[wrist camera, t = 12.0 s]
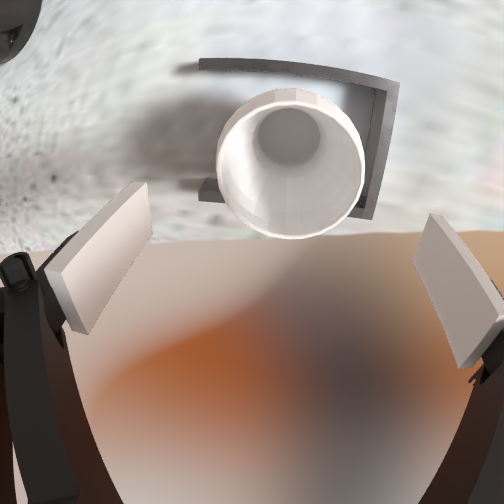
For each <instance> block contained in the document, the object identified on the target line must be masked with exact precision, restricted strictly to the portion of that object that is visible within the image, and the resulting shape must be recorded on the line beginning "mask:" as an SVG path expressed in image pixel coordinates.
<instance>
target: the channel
mask: <svg viewBox="0 0 504 504" xmlns="http://www.w3.org/2000/svg"><path fill="white" fill-rule="evenodd" d="M199 70H239V71H261V72H274V73H285V74H295V75H303V76H311V77H318V78H325V79H331V80H337V81H342V82H348V83H353V84H358V85H362V86H367V87H371V88H376V89H375V97H374V104H373V111H372V117H371V124H370V130H369V136H368V142H367V147H366V153H365V158H364V159H365V174H364V185H363V188H362V191H361V194H360V197H359V200H358V201H357V203H356V204H355V206H354V207H353V209H352V210H351V212H350V213H349V214H348V215H347V216H346V217H354V218H361V219H368V220H372V218H373V214H374V210H375V207H376V203H377V199H378V195H379V191H380V187H381V182H382V178H383V174H384V169H385V165H386V160H387V155H388V150H389V145H390V140H391V135H392V130H393V124H394V118H395V112H396V106H397V99H398V92H399V85H400V83H399V82H396V81H392V80H388V79H385V78H381V77H377V76H372V75H368V74H364V73H359V72H354V71H349V70H344V69H339V68H333V67H327V66H321V65H314V64H306V63H298V62H289V61H278V60H265V59H245V58H200V59H199ZM198 194H199V201H205V202H217V203H225V200H224V198H223V196H222V194H221V192H220V189H219V186H218V180H217V179H212V178H207V179H206V181H205V182H204V184H203V185H202V187H201V188H200V189H199V191H198Z"/></svg>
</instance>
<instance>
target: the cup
mask: <svg viewBox="0 0 504 504" xmlns="http://www.w3.org/2000/svg"><path fill="white" fill-rule="evenodd" d="M216 173H217V180H218V186H219V189H220V192H221V194H222V196H223V198H224V200H225V203H226V204H227V206H228V207H229V208H230V209H231V211H232V212H233V213H234V214H235V216H236V217H237V218H238V219H240V220H241V221H242V222H244V223H245V224H246V225H248V226H249V227H250V228H252V229H254V230H256V231H258V232H261V233H263V234H265V235H267V236H272V237H277V238H282V239H303V238H307V237H311V236H315V235H319V234H321V233H323V232H325V231H327V230H329V229H331V228H333V227H335V226H336V225H337V224H338V223H340V222H341V221H342V220H343V219H344V218H345V217H346V216H347V215H348V214H349V213H350V212H351V210H352V209H353V207H354V206H355V204H356V203H357V201H358V200H359V197H360V194H361V191H362V188H363V185H364V174H365V159H364V151H363V147H362V143H361V139H360V136H359V133H358V132H357V130H356V128H355V127H354V125H353V123H352V121H351V120H350V118H349V117H348V116H347V115H346V114H345V113H344V112H343V111H342V110H341V109H340V108H338V107H337V106H336V105H335V104H334V103H332V102H330V101H329V100H327V99H325V98H323V97H321V96H319V95H317V94H315V93H313V92H309V91H304V90H300V89H295V88H292V89H275V90H272V91H269V92H266V93H263V94H260V95H257V96H256V97H254V98H253V99H251V100H250V101H248V102H247V103H245V104H244V105H242V106H241V107H239V108H238V109H237V110H236V111H235V113H234V114H233V115H232V116H231V117H230V119H229V120H228V121H227V122H226V124H225V126H224V128H223V130H222V133H221V135H220V138H219V140H218V145H217V153H216Z"/></svg>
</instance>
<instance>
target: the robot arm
mask: <svg viewBox="0 0 504 504" xmlns="http://www.w3.org/2000/svg"><path fill="white" fill-rule="evenodd" d="M41 3H42V0H0V63H3V62H7V61H9V60H11V59H12V58H13V57H15V56H16V55H17V54H18V53H19V52H20V51H21V49H22V48H23V47H24V45H25V44H26V42H27V41H28V39H29V37H30V36H31V34H32V32H33V29H34V27H35V25H36V22H37V19H38V16H39V13H40V9H41ZM152 234H153V232H152V225H151V217H150V209H149V200H148V191H147V182H131V183H130V184H129V185H128V186H126V187H125V188H124V189H123V190H122V191H121V192H120V193H119V194H117V195H116V196H115V197H114V198H113V199H112V200H111V201H110V202H109V203H108V204H106V205H105V206H104V207H103V208H102V209H101V210H100V211H99V212H98V213H97V214H96V215H95V216H94V217H93V218H92V219H91V220H90V221H89V222H88V223H87V224H86V225H85V226H84V227H83V228H82V229H81V230H80V231H77V232H75V233H74V234H72V235H70V236H69V237H67V238H66V239H65V240H64V241H63V243H62V244H61V245H60V247H58V248H57V249H56V250H55V251H54V253H52V254H51V255H50V256H49V257H48V259H47V260H46V261H45V262H44V263H43V264H42V265H41V266H40V267H39V269H38V270H37V271H35V269H34V267H33V264H32V262H31V259H30V257H29V254H27V253H26V252H18V253H14V254H12V255H10V256H8V257H7V258H5V259H4V260H3V261H2V262H1V263H0V278H1V280H2V282H3V284H4V286H5V287H1V288H0V504H17V501H16V493H15V483H14V470H13V445H12V444H14V449H15V453H16V458H17V462H18V466H19V470H20V473H21V477H22V481H23V484H24V487H25V490H26V494H27V498H28V504H124V503H123V502H122V500H121V498H120V496H119V494H118V492H117V490H116V488H115V486H114V484H113V482H112V480H111V478H110V475H109V473H108V471H107V469H106V467H105V464H104V462H103V460H102V457H101V455H100V452H99V450H98V448H97V445H96V442H95V440H94V437H93V435H92V432H91V429H90V426H89V423H88V420H87V418H86V415H85V411H84V408H83V405H82V402H81V398H80V395H79V392H78V388H77V384H76V381H75V377H74V373H73V369H72V365H71V361H70V357H69V351H68V347H67V342H66V337H65V332H64V330H63V328H62V325H63V323H64V321H65V320H67V322H68V324H69V326H70V328H71V329H72V331H76V332H79V333H82V334H86V335H89V334H90V332H91V330H92V328H93V326H94V325H95V323H96V321H97V320H98V318H99V316H100V314H101V313H102V311H103V309H104V308H105V306H106V304H107V303H108V301H109V300H110V298H111V296H112V295H113V293H114V291H115V290H116V288H117V287H118V285H119V283H120V282H121V280H122V279H123V277H124V275H125V274H126V273H127V271H128V269H129V268H130V266H131V265H132V263H133V262H134V260H135V258H136V257H137V256H138V254H139V253H140V251H141V250H142V249H143V247H144V246H145V244H146V243H147V241H148V240H149V238H150V237H151V235H152ZM412 262H413V264H414V266H415V268H416V270H417V272H418V274H419V276H420V278H421V280H422V282H423V284H424V286H425V288H426V290H427V292H428V294H429V297H430V299H431V301H432V303H433V305H434V308H435V310H436V312H437V315H438V317H439V319H440V321H441V324H442V326H443V329H444V331H445V334H446V336H447V339H448V341H449V344H450V347H451V349H452V352H453V355H454V357H455V360H456V363H457V366H458V369H461V368H469V367H473V366H474V365H475V364H476V362H477V361H478V360H479V359H480V357H482V359H483V362H484V364H483V365H482V366H481V367H480V368H479V369H478V370H477V371H476V373H475V374H474V375H473V376H472V377H471V378H470V380H469V381H468V382H469V383H471V382H472V380H473V379H476V381H475V383H474V384H473V386H474V387H473V390H472V393H471V396H470V399H469V402H468V405H467V407H466V410H465V412H464V415H463V417H462V420H461V422H460V425H459V427H458V430H457V432H456V434H455V436H454V439H453V441H452V443H451V445H450V448H449V449H448V451H447V454H446V455H445V458H444V459H443V462H442V463H441V465H440V467H439V469H438V471H437V473H436V475H435V476H434V478H433V480H432V482H431V484H430V485H429V487H428V488H427V490H426V492H425V493H424V495H423V497H422V498H421V500H420V502H419V503H418V504H504V298H502V295H501V293H500V292H499V291H498V289H497V287H496V286H495V284H494V283H493V281H492V280H491V279H490V278H489V277H488V276H487V274H486V273H485V271H484V270H483V268H482V267H481V265H480V264H479V263H478V261H477V260H476V258H475V257H474V256H473V254H472V253H471V252H470V250H469V249H468V248H467V246H466V245H465V244H464V242H463V241H462V240H461V239H460V237H459V236H458V235H457V233H456V232H455V231H454V230H453V228H452V227H451V226H450V225H449V223H448V222H447V221H446V220H445V219H444V217H443V216H440V215H435V214H429V217H428V220H427V223H426V226H425V228H424V231H423V234H422V237H421V239H420V242H419V245H418V247H417V250H416V252H415V255H414V257H413V260H412ZM12 442H13V443H12Z"/></svg>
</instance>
